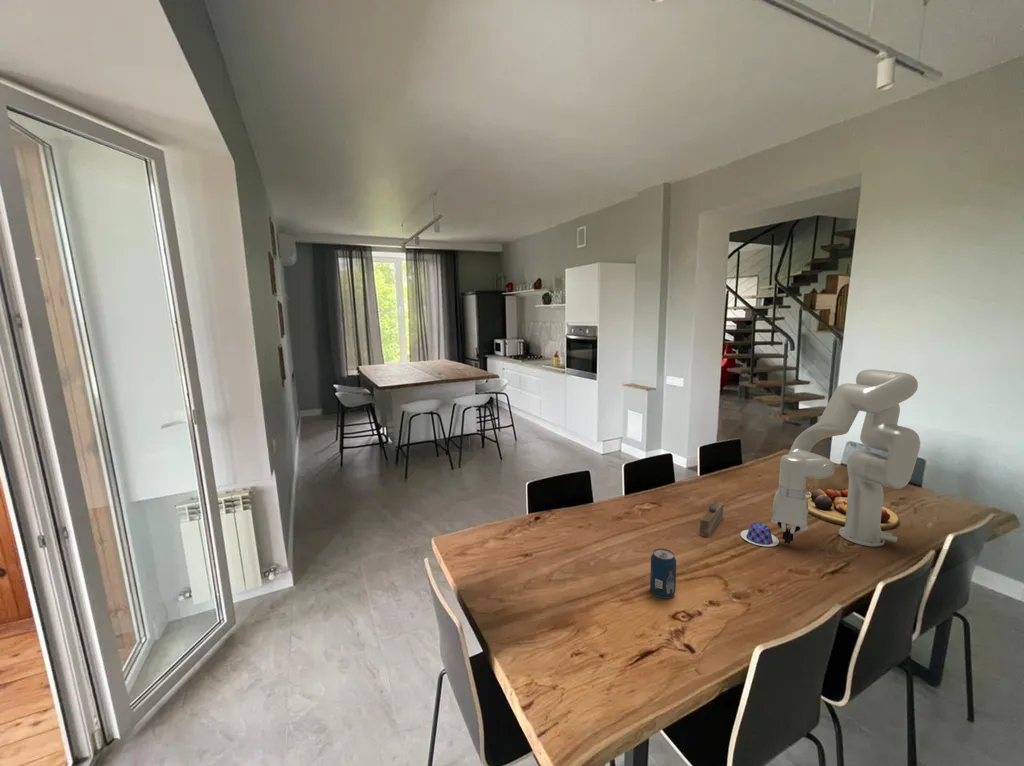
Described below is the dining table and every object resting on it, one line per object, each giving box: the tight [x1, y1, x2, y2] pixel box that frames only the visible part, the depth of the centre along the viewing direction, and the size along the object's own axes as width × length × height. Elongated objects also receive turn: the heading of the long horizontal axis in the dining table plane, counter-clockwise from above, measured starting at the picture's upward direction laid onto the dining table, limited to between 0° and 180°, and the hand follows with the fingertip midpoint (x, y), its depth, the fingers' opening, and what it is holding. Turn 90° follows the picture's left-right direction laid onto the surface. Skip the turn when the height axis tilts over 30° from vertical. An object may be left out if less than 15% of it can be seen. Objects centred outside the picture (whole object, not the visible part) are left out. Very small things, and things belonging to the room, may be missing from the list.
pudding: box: [740, 522, 780, 547], centre depth 152 cm, size 12×12×5 cm
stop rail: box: [699, 501, 724, 538], centre depth 162 cm, size 3×20×8 cm, turn 140°
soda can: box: [649, 548, 677, 599], centre depth 123 cm, size 7×7×12 cm
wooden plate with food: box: [806, 487, 900, 530], centre depth 171 cm, size 32×32×8 cm
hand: (787, 542), depth 147 cm, fingers closed
